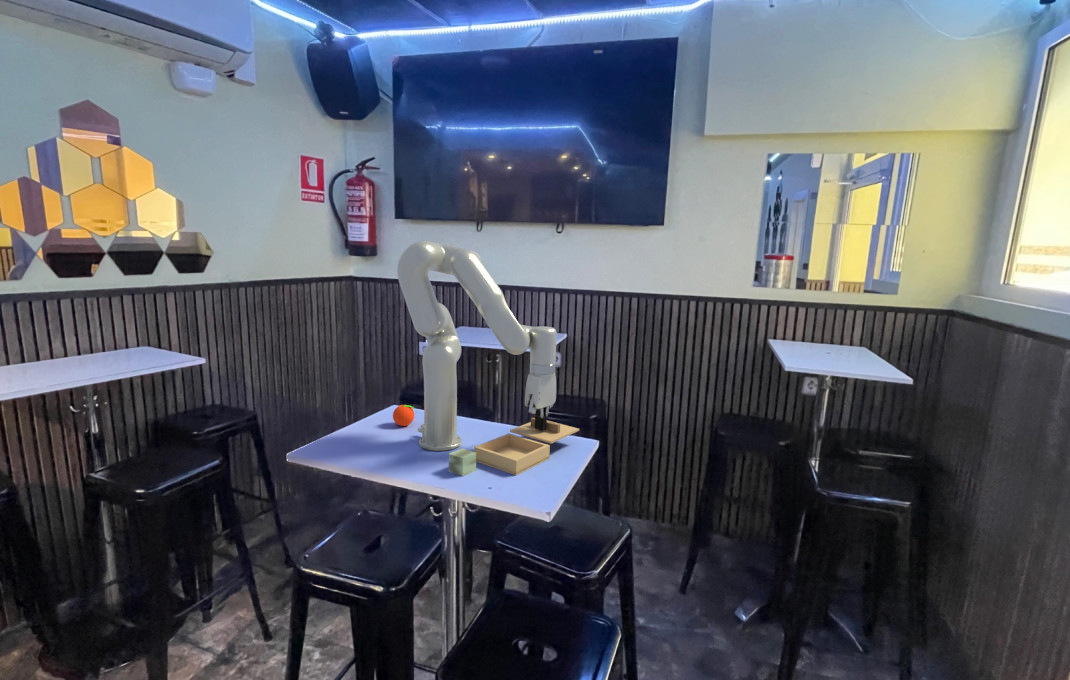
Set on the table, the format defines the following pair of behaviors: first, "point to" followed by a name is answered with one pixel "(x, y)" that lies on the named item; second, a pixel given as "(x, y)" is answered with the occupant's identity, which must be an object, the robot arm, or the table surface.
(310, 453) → the table surface
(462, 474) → the green block
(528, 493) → the table surface
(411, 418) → the clementine
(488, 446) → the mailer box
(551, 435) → the mailer lid
